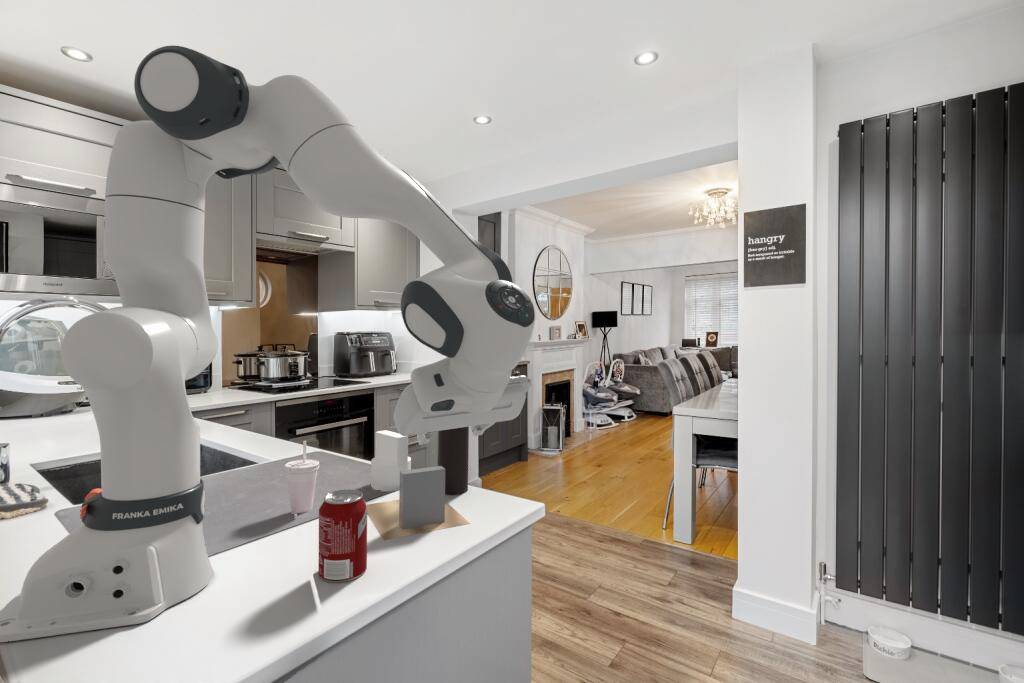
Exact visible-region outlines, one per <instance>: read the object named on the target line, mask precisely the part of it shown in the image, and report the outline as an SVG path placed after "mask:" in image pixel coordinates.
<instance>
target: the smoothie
mask: <svg viewBox="0 0 1024 683" xmlns="http://www.w3.org/2000/svg"><path fill="white" fill-rule="evenodd" d="M302 445H303V446H302V447H303V448H302V456H303V457H302V459H297V460H292V461H289V462H287V463H285V464H284V472H285V473H286V479H287V488H288V495H289V502H290V511H291V514H292V513H293V514H302V513H303V514H304V513H307V512H309V511H312V510H313V507H314V506H313V505H314V500H315V492H316V484H317V477H318V469H320V461H319V460H316V459H310V458H308V459H307V440H303V441H302Z"/></svg>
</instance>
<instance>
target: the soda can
mask: <svg viewBox="0 0 1024 683" xmlns="http://www.w3.org/2000/svg"><path fill="white" fill-rule="evenodd" d="M363 497H364V493H363V492H362V491H361V490H358V489H350V488H349V489H339V490H333V491H331V492H327V493H326V494H324V495H323V502H322V504H321V505H320V507H319V509H318V578H319V579H321V580H322V582H327V583H330V584H331V583H332V584H340V583H341V584H342V583H348V582H350V581H355V580H357V579H358V578H360V577H361V576H363V575H364V574H365V573H366V571H367V568H368V565H367V564H368V563H367V562H368V555H367V553H368V514H367V502H366V501H365V499H364V498H363Z"/></svg>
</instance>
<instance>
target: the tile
mask: <svg viewBox="0 0 1024 683" xmlns="http://www.w3.org/2000/svg"><path fill="white" fill-rule="evenodd" d="M398 495H399V499H398V500H399V526H400V527H401V528H402V530H403V529H409V528H414V527H420V526H425V525H430V524H436V523H441V522H445V501H446V495H445V468H443V467H442V466H438V465H437V466H429V467H422V468H414V469H413V468H411V470H404V471H400V490H399V494H398Z"/></svg>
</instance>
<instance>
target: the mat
mask: <svg viewBox="0 0 1024 683" xmlns="http://www.w3.org/2000/svg"><path fill="white" fill-rule="evenodd" d="M367 517H368V518H369V519H370V520H371V522H372V524H373V525H374V527H375V528H376V530H377V531H378V533H379V535H380V537H381V538H382V540H384V541H386V540H391V539H392V540H393V539H396V538H402V537H403V538H404V537H407V536H412V535H417V534H425V533H429V532H433V531H439V530H440V531H441V530H444V529H445V530H446V529H449V528H450V529H451V528H454V527H456V528H457V527H459V526H465V525H470V524H471V523H470V522H469V521H468V520H467V519H466V518H465V517H464V516H463V515H462V514H460V513H459V511H457V510H456V509H455V508H453V507H452V506H451V505H450V504H449V503H448V502H447V501H446V500H445V522H441V523H436V524H430V525H425V526H420V527H414V528H409V529H403V530H402V528H401V527H400V526H399V499H394V500H388V501H381V502H376V503H375V502H374V503H373V502H372V503H368V504H367Z"/></svg>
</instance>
